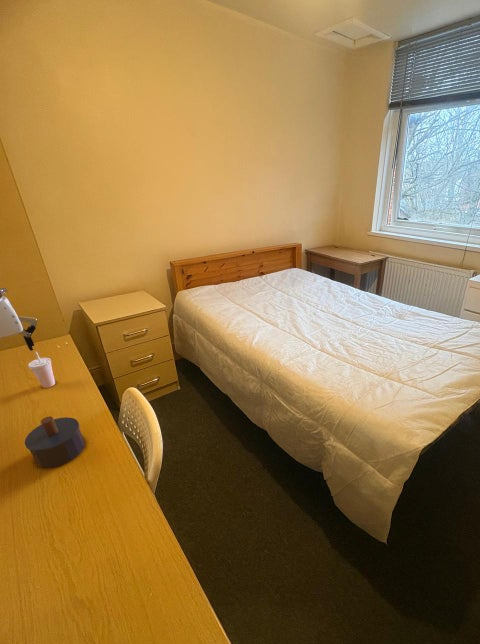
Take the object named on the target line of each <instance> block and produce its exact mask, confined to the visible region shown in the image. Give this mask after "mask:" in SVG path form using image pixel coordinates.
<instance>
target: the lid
mask: <svg viewBox="0 0 480 644" xmlns="http://www.w3.org/2000/svg"><path fill="white" fill-rule="evenodd" d="M79 429H80V423H79V420H77V419H76V418H74V417H68V416H65V417H58V418H54V417H53V416H52V415H51V416H50V415H49V416H46V417H43V418H42V419H40V425H38V426H36V427H35V428H33V429H32V430H31V431H30V432H29V433H28V434H27V435H26V437H25V439H24V446H25V448H26V450H29V451H30V450H31V451H46V450H50V449H53V448H56V447H58V446H60V445H62V444H64V443H66V442H67V441H69V440H70V439H71V438H73V437H74V436H75V435H76V433H77V432H78V430H79Z"/></svg>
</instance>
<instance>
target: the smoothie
mask: <svg viewBox="0 0 480 644" xmlns="http://www.w3.org/2000/svg"><path fill="white" fill-rule="evenodd" d="M34 353H35V355H36V358H37V359H34V360H32V361H30V362H29V363H28V365H27V366H28V368H29V370H31V371H32V373H33V374H34V376H35V377H36V379H37V381H38V382H39V383H40V385H41V386H42V388H44V389H45V388H46V389H48V388H51V387H53V386H54V385H56V381H55V377H54V373H53V372H54V371H53V367H52V360H51V358H49V357H40V355H39V353H38V351H35V352H34Z"/></svg>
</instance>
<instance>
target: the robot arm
mask: <svg viewBox="0 0 480 644" xmlns="http://www.w3.org/2000/svg"><path fill="white" fill-rule="evenodd" d="M7 293H8V289H7V288H6V287H0V339H4V338H7V337H11V336H15V335H18V334H19V335H21V336H22V337H23V340H24V342H25V344H26V347H27V348H28V350H29V351H31V352H32V351H34V348H33V347H34V346H35V342H34V341H33V339H32V336H33V333H34V332H35V331H36V327H37V325H38V319H37V318H36V317H31V316H24V315H18V314H17V312H16V311H15V308H14V307H13V305H12V303H11V302H10V300H9V299H8V298H7V296H4V295H5V294H7ZM22 322H23V323H29V325H28V326H27V328H24V327H23V324H22Z"/></svg>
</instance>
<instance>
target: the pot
mask: <svg viewBox="0 0 480 644" xmlns="http://www.w3.org/2000/svg"><path fill="white" fill-rule="evenodd" d="M85 446H86V443H85V439H84V437H83V434H82V432H81V429H80V428H79V430H78V432H77V433H76V435H75V436H74V437H73V438H71V439H70V440H69V441H67V442H66V443H64V444H62V445H60V446H58V447H56V448H53V449H50V450H46V451H31V450H29V452H30V454H31V456H32V458H33V460H34V461H35V463H36V464H37V466H38V467H40V468H44V469H52V468H57V467H61V466H63V465H66V464H68V463H69V462H71V461H73V460H74V459H76V458H77V457H78V456H79V455H80V454H81V453H82V451H83V450H84V448H85Z"/></svg>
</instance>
